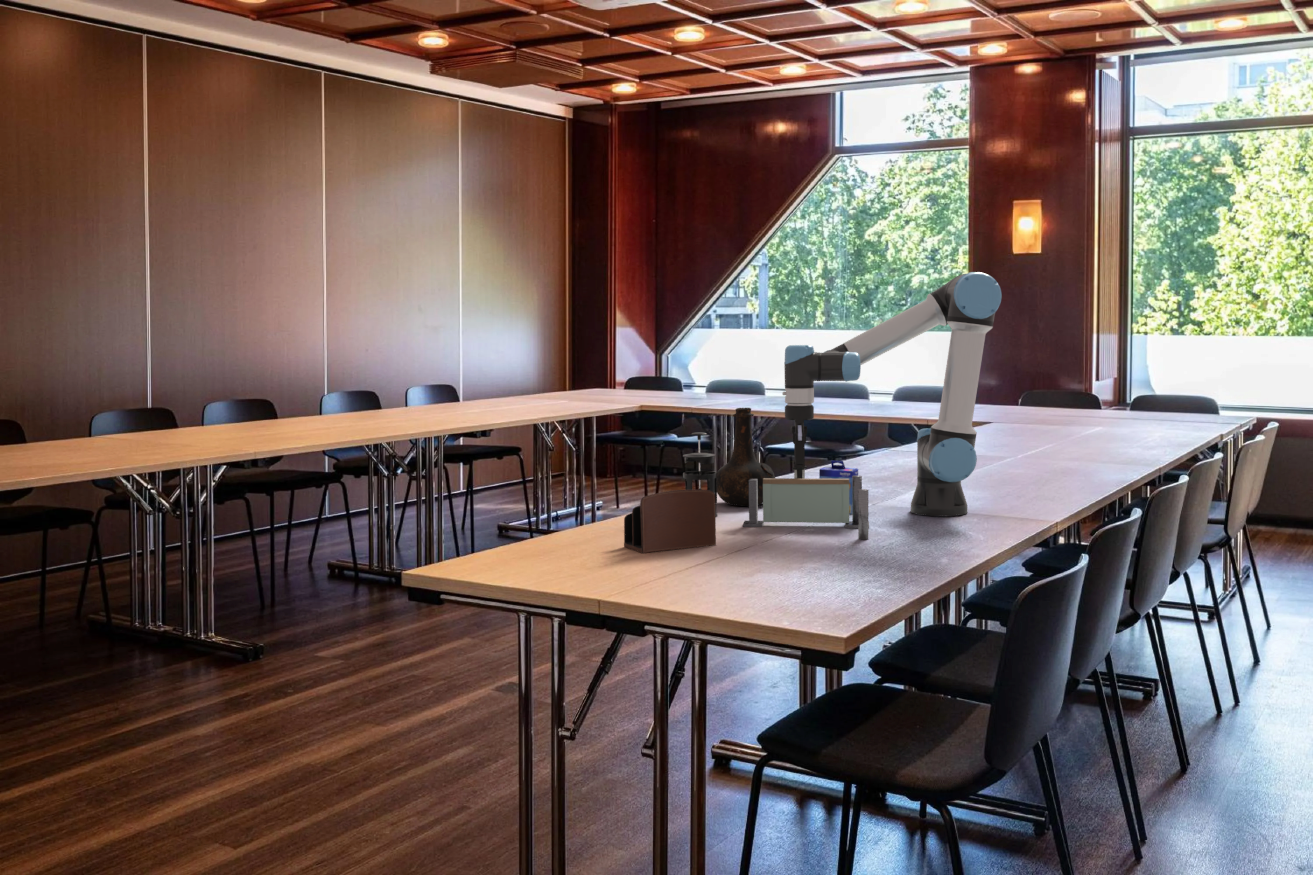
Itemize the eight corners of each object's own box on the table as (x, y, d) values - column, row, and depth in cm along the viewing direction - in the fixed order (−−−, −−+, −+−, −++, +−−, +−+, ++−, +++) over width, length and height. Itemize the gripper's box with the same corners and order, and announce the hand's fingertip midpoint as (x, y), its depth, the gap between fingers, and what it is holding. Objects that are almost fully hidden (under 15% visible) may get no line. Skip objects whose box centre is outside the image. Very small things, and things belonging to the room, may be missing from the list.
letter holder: (716, 545, 295) (716, 487, 294) (642, 554, 286) (641, 494, 284) (696, 539, 304) (695, 482, 302) (623, 547, 295) (622, 489, 293)
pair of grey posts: (868, 524, 320) (868, 474, 319) (869, 539, 298) (869, 486, 297) (744, 523, 325) (744, 474, 324) (736, 538, 303) (736, 485, 302)
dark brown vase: (760, 510, 346) (759, 410, 343) (703, 506, 355) (702, 409, 352) (786, 501, 362) (785, 406, 359) (731, 498, 370) (730, 405, 368)
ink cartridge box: (818, 512, 341) (818, 460, 339) (824, 509, 346) (824, 458, 344) (853, 514, 336) (853, 461, 335) (859, 511, 341) (859, 459, 340)
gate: (849, 521, 319) (849, 478, 318) (849, 523, 317) (849, 479, 316) (763, 520, 322) (763, 478, 321) (763, 522, 321) (762, 479, 319)
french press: (701, 520, 331) (700, 435, 329) (674, 517, 337) (673, 433, 335) (728, 514, 340) (727, 431, 337) (701, 511, 346) (700, 429, 344)
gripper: (784, 402, 330) (784, 490, 332) (785, 406, 317) (785, 497, 319) (812, 402, 329) (813, 490, 331) (814, 406, 316) (814, 497, 318)
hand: (799, 493), depth 325 cm, fingers closed
